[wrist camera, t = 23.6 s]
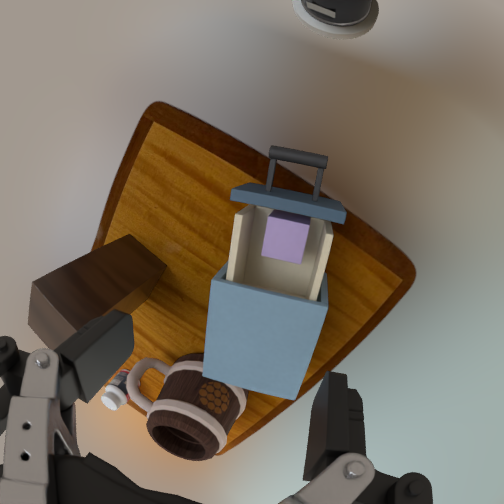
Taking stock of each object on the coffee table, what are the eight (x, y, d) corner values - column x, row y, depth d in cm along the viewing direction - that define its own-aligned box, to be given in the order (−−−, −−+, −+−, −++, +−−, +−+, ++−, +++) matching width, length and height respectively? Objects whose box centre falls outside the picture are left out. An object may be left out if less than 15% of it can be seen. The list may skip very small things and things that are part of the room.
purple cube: (274, 209, 35) (267, 216, 30) (310, 217, 34) (310, 225, 30) (267, 244, 36) (260, 255, 32) (303, 252, 35) (300, 264, 31)
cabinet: (235, 252, 40) (211, 279, 31) (326, 272, 38) (328, 307, 29) (223, 337, 45) (202, 376, 36) (301, 357, 43) (294, 400, 34)
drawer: (255, 143, 34) (239, 139, 26) (348, 162, 32) (357, 162, 25) (234, 280, 40) (215, 307, 33) (315, 299, 38) (313, 331, 31)
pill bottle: (144, 388, 54) (124, 415, 46) (126, 385, 55) (106, 410, 47) (134, 369, 53) (112, 396, 44) (116, 367, 54) (94, 392, 46)
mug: (267, 383, 46) (247, 453, 32) (224, 418, 51) (200, 476, 37) (169, 316, 46) (119, 371, 32) (141, 363, 51) (100, 412, 37)
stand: (129, 233, 43) (32, 281, 24) (166, 265, 43) (79, 333, 24) (112, 269, 46) (27, 324, 27) (147, 299, 46) (69, 369, 27)
